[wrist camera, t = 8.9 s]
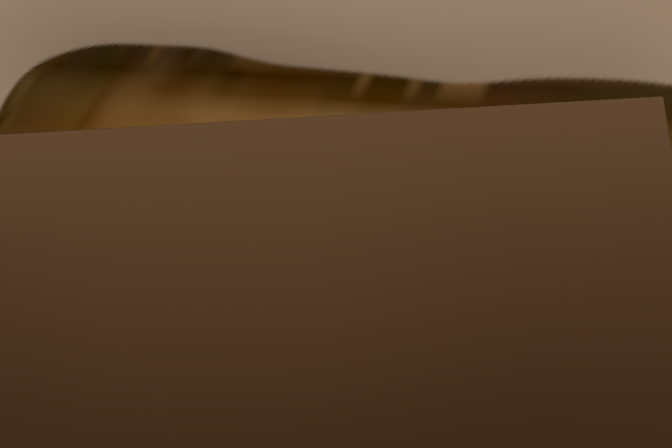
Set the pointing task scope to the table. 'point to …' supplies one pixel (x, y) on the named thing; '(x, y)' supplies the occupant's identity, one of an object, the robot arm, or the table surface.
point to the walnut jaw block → (342, 281)
